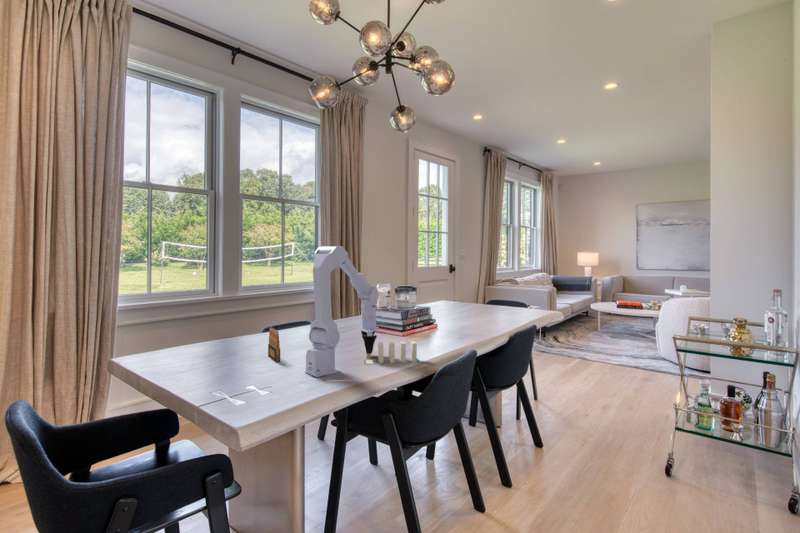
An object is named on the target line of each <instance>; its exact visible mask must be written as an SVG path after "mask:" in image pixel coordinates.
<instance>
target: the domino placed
mask: <svg viewBox="0 0 800 533" xmlns="http://www.w3.org/2000/svg"><path fill="white" fill-rule="evenodd" d="M365 353H366V352H365ZM365 356H366V360H369V359H372V353H366V354H365Z"/></svg>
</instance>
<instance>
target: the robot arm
mask: <svg viewBox="0 0 800 533" xmlns="http://www.w3.org/2000/svg"><path fill="white" fill-rule="evenodd" d="M313 255H314V263H313V267H312V275H313V276H312V278H313V294H314V297H313V298H314V310H315V311H314V314H315V316H314V317H315V319H314V320H313V321H312V322H311V323H310V330H309V333H308V340H309V342H310V343H311V344H312V348H309V349H307V351H306V353H305V370H304V373H306V374H308V375H311V376H313V377H316V378H320V377H323V376H326V375H327V376H328V375H331V374H335V373H338V372H341V370H339V369H338V368H336V367H335V366H336V357H335V356H336V354H335V353H336V352H335V350H336V347H337V346H338V344H339V341H340V336H341V335H340V332H339V330H338V324H337V323H336V322H335V320H334V319H333V316H332V299H331V298H332V297H331V296H332V295H331V281H330V280H331V279H330V278H331V277H330V274H331V273H332V271H333V270H335V269H337V268H338V267H340V269H341V270H342V271H343V272H344V273H345V274H346V275H347V276H348V278H350V279H349V282H350V284H351V286H352V287H353V288H354V289H355V290H356V292H357V296H358V299H360V300H361V304H360V305H361V306H360V309H361V312H360V313H361V317H360V318H361V319H360V320H361V321H360V323H361V324H360V325H361V327H360V330H361V331H360V332H361V337H362V339H363V344H364V348H365V353H371V354H372V353H373V351H374V345H375V341H376V339H377V337H378V336H377V334H376V335H375V333H376V330H377V331H378V330H380V327H379V326H377V304H378V300H379V298H380V292H379V289H378V288H377V287H376V286H374V285H372V284H371V282H369V280H368V279H367V277H366V275H365V274H364V273H363V272H358V270H357V269H356V268H355V265H354V264H353V263H352V261H351V260H350V258H349V253H348V251H346V248H344V247H343V246H342V245H337V246H335V245H329V246H328V245H327V246H326V245H320V246H318V247H317V249H316V250H315V251H314V253H313Z"/></svg>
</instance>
